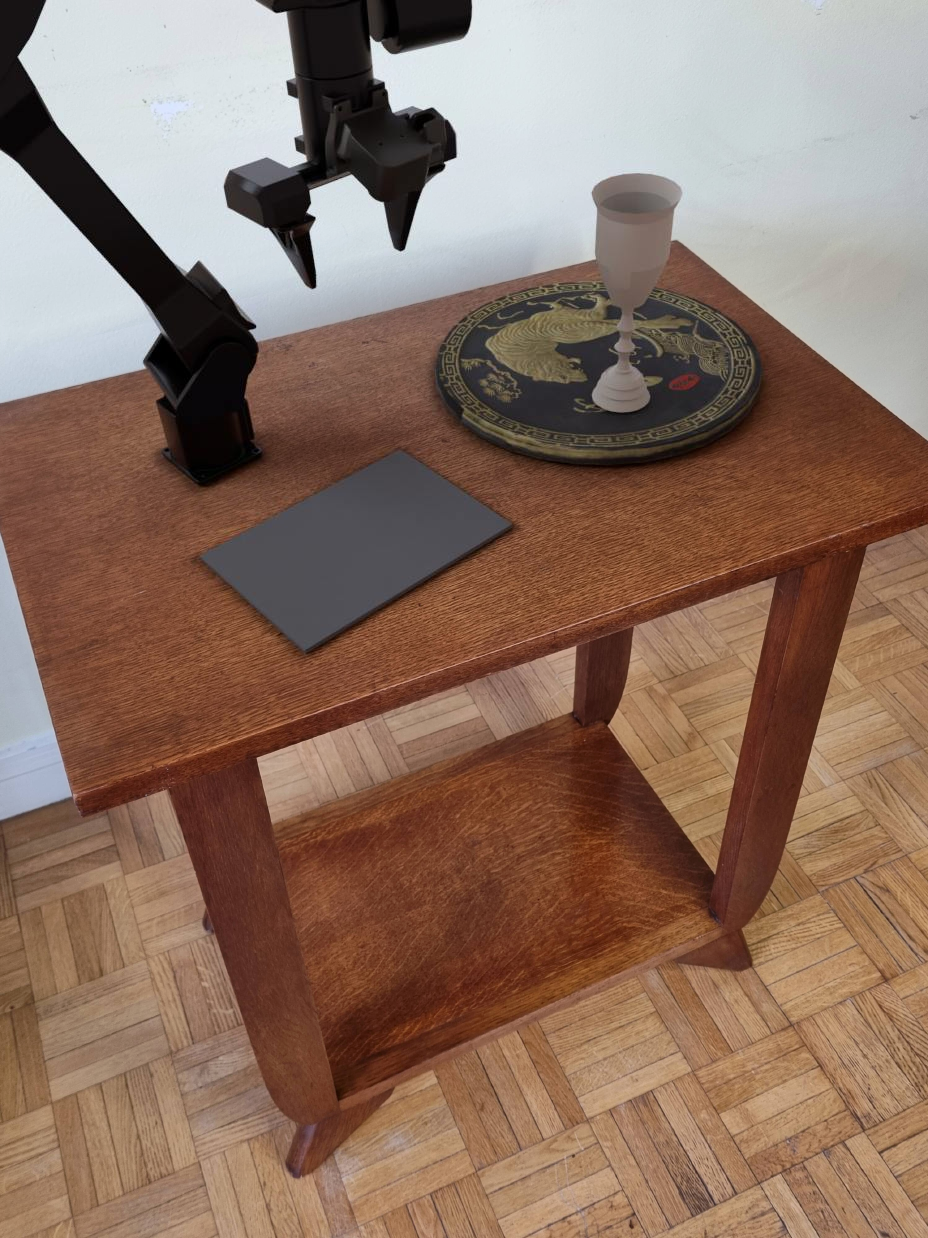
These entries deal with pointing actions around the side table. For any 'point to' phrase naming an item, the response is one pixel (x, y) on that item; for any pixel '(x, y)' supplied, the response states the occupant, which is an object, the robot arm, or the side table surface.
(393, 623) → the side table surface
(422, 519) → the felt mat
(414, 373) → the side table surface
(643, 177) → the chalice
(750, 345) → the decorative plate
